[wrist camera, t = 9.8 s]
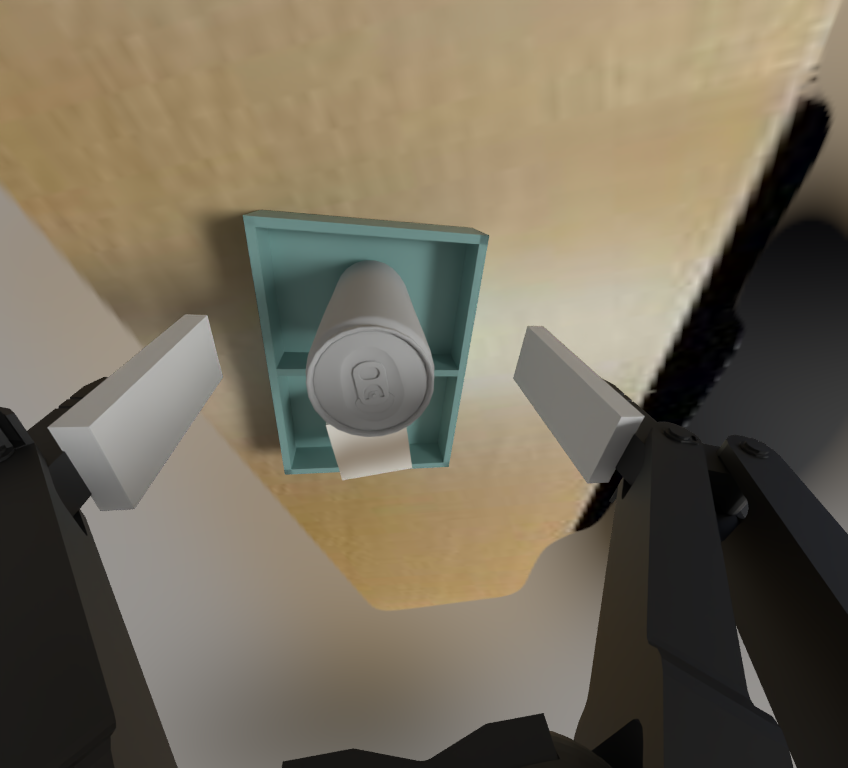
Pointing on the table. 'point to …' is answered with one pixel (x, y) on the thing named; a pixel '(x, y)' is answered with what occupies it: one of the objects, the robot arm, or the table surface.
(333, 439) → the cream block
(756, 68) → the table surface
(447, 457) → the box
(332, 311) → the beverage can
